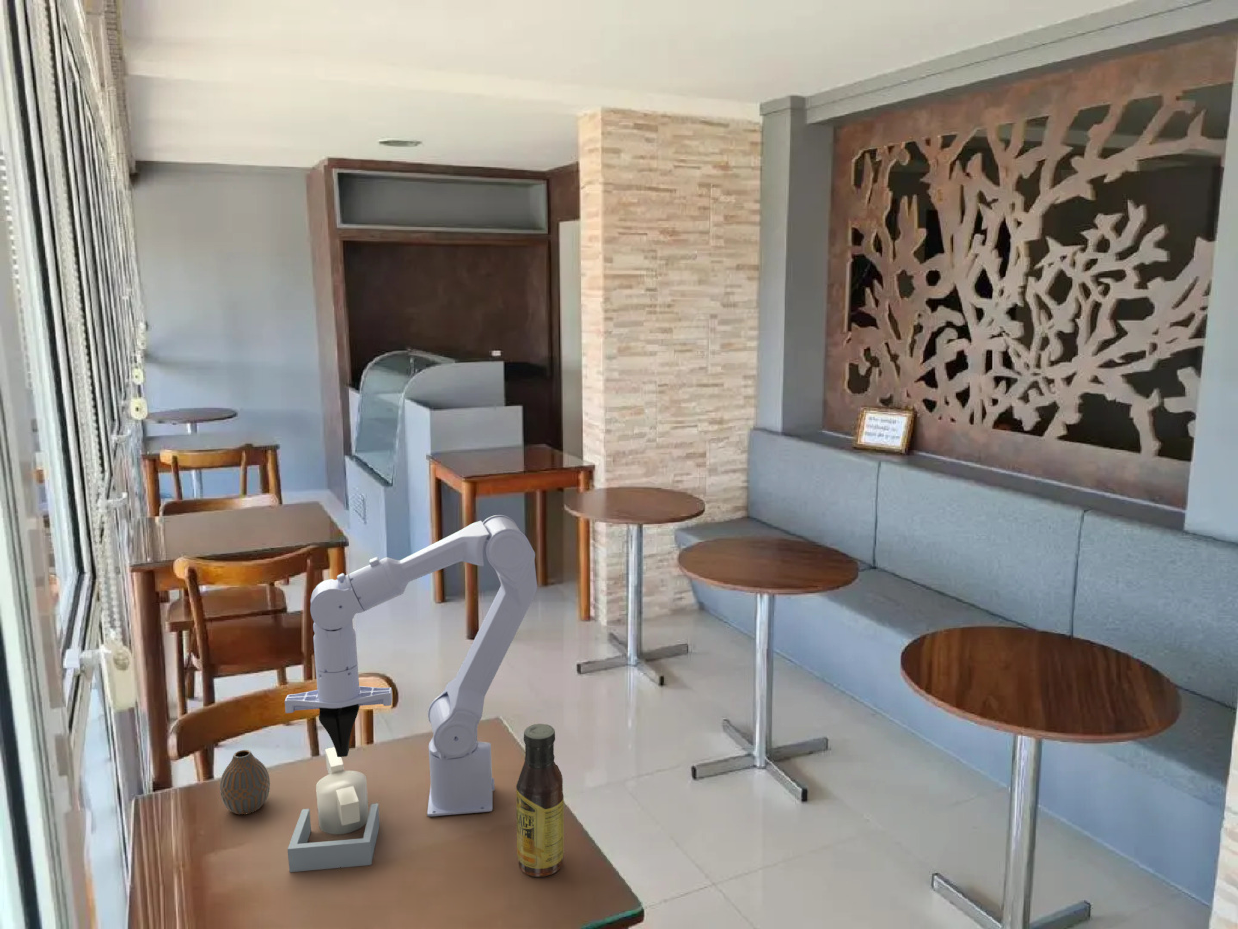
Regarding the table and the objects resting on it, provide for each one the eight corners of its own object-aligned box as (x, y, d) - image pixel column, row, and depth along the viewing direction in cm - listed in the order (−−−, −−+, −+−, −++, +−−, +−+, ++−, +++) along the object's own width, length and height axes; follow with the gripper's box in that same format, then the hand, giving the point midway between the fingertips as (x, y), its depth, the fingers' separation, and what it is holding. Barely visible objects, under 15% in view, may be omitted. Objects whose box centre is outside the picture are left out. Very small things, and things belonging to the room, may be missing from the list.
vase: (279, 796, 142) (275, 743, 140) (258, 821, 135) (253, 766, 133) (236, 794, 142) (231, 741, 141) (213, 819, 136) (207, 764, 134)
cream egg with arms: (310, 794, 142) (307, 752, 141) (357, 784, 145) (354, 743, 144) (326, 856, 126) (323, 809, 125) (378, 843, 129) (375, 797, 128)
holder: (379, 824, 134) (378, 803, 133) (371, 865, 124) (369, 842, 124) (303, 831, 132) (302, 809, 132) (289, 872, 123) (287, 849, 122)
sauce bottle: (511, 858, 125) (507, 722, 122) (555, 847, 128) (551, 713, 124) (526, 886, 120) (522, 744, 116) (571, 874, 122) (568, 735, 118)
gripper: (391, 650, 136) (397, 736, 138) (289, 657, 134) (296, 744, 136) (387, 670, 129) (392, 759, 131) (278, 677, 127) (286, 768, 129)
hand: (343, 753), depth 133 cm, fingers closed
